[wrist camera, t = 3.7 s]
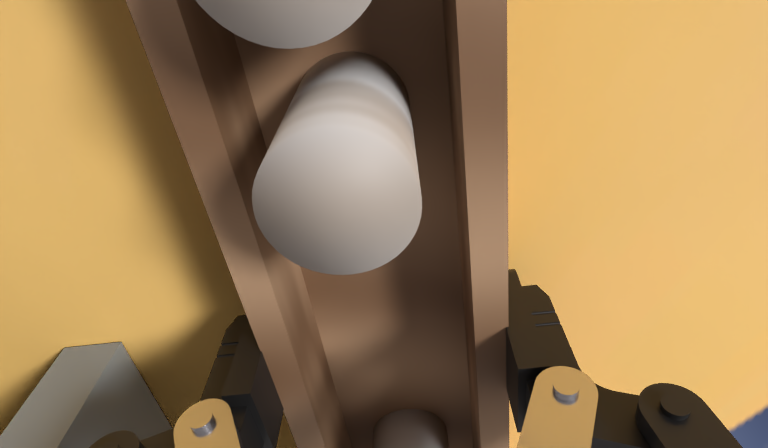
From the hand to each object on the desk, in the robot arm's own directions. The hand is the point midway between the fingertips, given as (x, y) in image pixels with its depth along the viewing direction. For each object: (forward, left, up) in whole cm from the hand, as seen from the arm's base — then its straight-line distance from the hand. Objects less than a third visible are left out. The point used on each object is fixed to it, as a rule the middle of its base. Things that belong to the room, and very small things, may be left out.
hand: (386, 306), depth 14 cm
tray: (0, 0, -1) cm, 1 cm away
